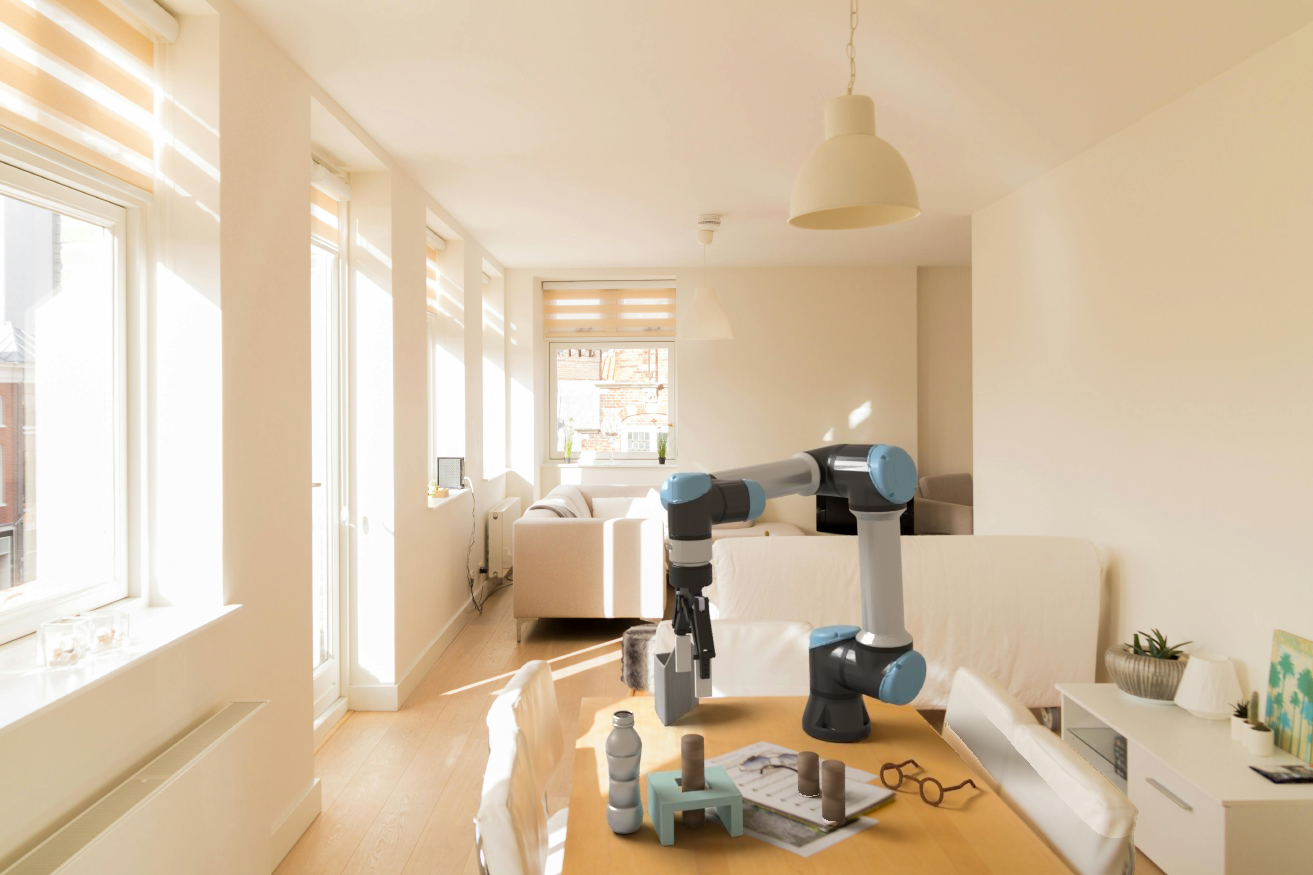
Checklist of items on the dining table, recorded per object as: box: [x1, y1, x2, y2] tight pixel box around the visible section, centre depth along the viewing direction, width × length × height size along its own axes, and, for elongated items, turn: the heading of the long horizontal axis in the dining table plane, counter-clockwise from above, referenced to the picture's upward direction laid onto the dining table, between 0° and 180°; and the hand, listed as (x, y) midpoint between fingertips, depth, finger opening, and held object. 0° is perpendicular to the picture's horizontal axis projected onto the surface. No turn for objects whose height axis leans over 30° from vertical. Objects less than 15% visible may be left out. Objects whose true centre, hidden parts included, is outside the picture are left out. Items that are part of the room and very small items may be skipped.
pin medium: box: [821, 759, 847, 828], centre depth 142 cm, size 4×4×10 cm
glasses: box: [879, 758, 978, 807], centre depth 155 cm, size 13×13×5 cm
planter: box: [653, 642, 700, 727], centre depth 195 cm, size 16×8×19 cm, turn 149°
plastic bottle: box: [605, 710, 645, 835], centre depth 140 cm, size 6×7×20 cm
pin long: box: [680, 733, 706, 830], centre depth 142 cm, size 4×4×15 cm
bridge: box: [646, 764, 744, 847], centre depth 142 cm, size 14×12×7 cm
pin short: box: [796, 750, 821, 796], centre depth 153 cm, size 4×4×7 cm
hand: (693, 683), depth 141 cm, fingers open, 13 cm apart
